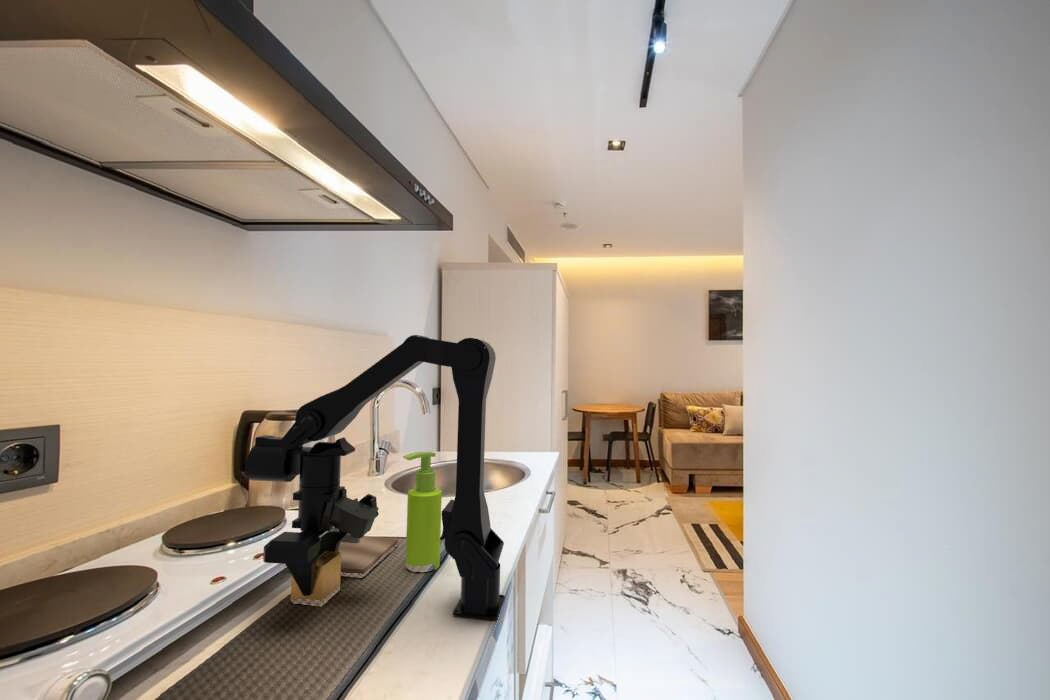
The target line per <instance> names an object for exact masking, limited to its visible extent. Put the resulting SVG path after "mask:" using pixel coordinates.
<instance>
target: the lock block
mask: <svg viewBox="0 0 1050 700" xmlns="http://www.w3.org/2000/svg"><path fill="white" fill-rule="evenodd" d="M290 575H291V579H290V600H291V599H310V600H312V599H315V600H323V599H324V598H325V597H326V596H328V595H329V594H330V593H331V592H332V591H333V590H335V589H336V588H337V587H339V586H340V587H341V578H342V577H341V552H330V551H326V552H325V553H324V554H323V555H322V556H321V557H320V558H319V559H318V560H317V563H316V570H315V576H314V583H313V588H312V593H311V595H310V596H304V595H302V593H301V591H300V589H299V587H298V585H297V583H296V581H295V580H294V578H293V576H292V574H290Z"/></svg>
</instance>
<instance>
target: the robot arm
mask: <svg viewBox="0 0 1050 700" xmlns="http://www.w3.org/2000/svg"><path fill="white" fill-rule="evenodd" d="M423 363H428V364H431V365H437V366H443V367H447V368H448V367H449V368H451V374H452V380H453V384H454V388H455V390H456V391H455V392H456V395H457V399H458V412H457V442H456V446H457V447H456V471H455V472H456V475H455V476H456V477H455V479H456V480H455V496H454V499H450V500H449V502H448V503H447V504H446V505H445V507H444V508H443V509H441V523H442V533H441V534H440V541H444V542H443V544H444V549H445V552H446V553H447V555H448V556H450V557H451V558H452V559H453V560H454V563H455V565H456V570H457V571H458V574H459V577H460V578H461V580H460V583H461V584H460V598H459V600H458V602H457V604H456V606H455V607H454V608H453V611H452V615H453V616H454V617H460V618H462V617H463V618H471V619H472V618H473V619H482V620H489V621H496V620H498V618H499V615H500V613H501V611H502V609H503V606H504V603H505V601H506V596H505V594H501V593H500V587H501V564H500V558H501V555H502V552H503V549H504V544H505V542H504V541H503V539H502V538H501V537H500V536H499V535H498V534H497V533H496V532H495V531H494V530H493V529H492V528H491V527H492V526H491V521H490V513H489V507H488V503H487V499H486V495H485V489H484V484H485V483H484V482H485V481H484V479H485V478H484V476H485V448H486V445H485V444H486V416H487V415H486V408H487V397H488V394H489V390H490V386H491V384H492V379H493V375H494V369H495V365H496V352H495V349H494V348H493V346H491V344H490V343H488V342H487V341H485V340H483V339H479V338H474V337H468V338H467V337H465V338H463V339H461V340H459V341H457V342H453V341H447V340H443V339H442V340H440V339H435V338H430V337H428V336H424V335H419V334H411V335H410V336H408V337H407V338H406V339H405V340H404V341H403V342H402V343H401V344H400V345H398V346H397V347H396V348H394V349H393V350H392V351H390V352H389V353H387V354H385V356H384V357H381V359H379V360H377V362H375V363H374V364H373V365H371V366H370V367H368V368H367V369H365V370H364V371H363V372H361V373H360V374H359V375H357V376H356V377H355V378H353V379H352V380H351V381H349V382H348V383H347V384H345V385H344V386H342V387H340V388H337V389H336V390H333V391H330V392H328V393H325V394H324V395H320V396H319V397H317V398H315V399H313V400H310V401H309V402H307V403H304V404H303V405H301V406H300V407H299V408H298V409H297V411H296V412H295V414H294V415H295V420H294V422H293V423H292V424H291V427H290V428H289V429H288V430H287V431H286V433H285V434H284V436H273V435H267V434H263V435H260V436H256V437H255V441H254V443H255V444H254V445H253V447H251V449H250V450H249V453H248V455H247V457H246V458H247V459H246V460H245V461H244V471H245V475H246V477H247V478H248V479H249V480H250V481H253V482H254V481H258V482H280V483H281V482H283V483H290V482H292V481H294V480H295V478H296V477H297V476H299V485H298V487H299V488H298V490H297V491H295V492H293V493H292V501H298V508H297V509H298V512H297V517H296V518H295V519H293V520H292V521H291V528H292V529H300V532H298V531H295V532H294V531H284V532H282V533H280V534H278V535H277V536H275V537H274V538H272V539H271V540H270V541H268V543H266V544H265V545H264V546H263V563H267V564H282V565H283V564H284V565H285V567H286V566H287V568H288V569H289V571H290V572H289V573H290V575H292V576H293V578H294V580H295V581H296V583H297V585H298V587H299V589H300V591H301V593H302V595H304V596H310V595H311V593H312V588H313V583H314V576H315V570H316V563H317V560H318V559H319V558H320V557H321V556H322V555H323V554H324V553H325V552H326V551H330V552H337V551H338V548H339V545H340V542H341V540H342V539H343V538H344V537H345V536H346V535H347V534H350V535H351V536H352V537H354V538H362V537H363V536H366V534H367V533H369V532H370V531H371V529H372V528H373V524H374V522H375V520H376V518H378V516H379V515H380V514H379V513H380V512H379V507H378V503H377V496H375V495H373V494H370V493H367V494H366V495H364V496H363V497H362V498H361V499H359V498H357V497H356V498H354V499H352V498H349V497H347V496H348V495H347V492H348V491H347V489H346V487H345V486H343V485H341V465H342V463H341V460H342V457H345V456H347V455H350V454H352V453H354V452H355V451H356V447H355V446H354V445H352V444H351V443H349V442H348V440H347V439H346V437H341V438H337V440H335V442H333V441H332V442H331V441H321V440H324V439H327V438H330V437H333V436H336V435H338V434H341V433H343V431H344V430H346V428H347V427H348V426H349V425H350V424H351V423H352V422H353V421H354V420H355V419H356V417H357V416H358V415H359V413H360V412H361V410H362V409H363V408H364V407H365V406H366V405H368V403H369V402H370V401H372V400H374V399H375V398H376V397H378V396H379V395H380V394H381V393H383V392H384V391H386V390H387V389H389V388H390V387H392V386H393V385H394V384H395V383H396V382H398V381H399V380H401V379H402V378H404V377H405V376H406V375H408V374H409V373H410V372H411V371H413V370H414V369H416V368H417V367H419V366H420V365H421V364H423ZM312 442H316V443H315V444H314V445H313V446H304V445H305V444H309V443H312Z"/></svg>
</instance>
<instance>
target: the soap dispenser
mask: <svg viewBox="0 0 1050 700" xmlns="http://www.w3.org/2000/svg"><path fill="white" fill-rule="evenodd" d="M433 457H436V453H435V452H434V451H433V452H432V451H417V452H416V451H415V452H411V453H408V454H406V455H403V458H404V459H405V460H407V461H412V460H415V459H419V458H420V468H419V469H418V470H416V471H415V485H414V488H412V489H411V488H410V489H409V490H408V491H407V508H406V509H407V511H406V538H405V539H406V544H405V564H406V563H407V564H409V565H412V566H425V565H429V564H434V565H435V566H436V567H435V570H434V571H437V570H438V569H439V567H440V562H441V560H440V559H441V557H440V556H441V540H440V537H441V535H442V533H441V529H442V528H441V527H442V524H441V523H442V498H443V497H442V494H443V491H442V490H441V489H440V488H438V487H435V486H436V470H434V469H432V468H431V466H432V465H431V464H432V463H431V462H432V458H433Z"/></svg>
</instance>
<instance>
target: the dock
mask: <svg viewBox="0 0 1050 700" xmlns="http://www.w3.org/2000/svg"><path fill="white" fill-rule="evenodd" d="M397 543H398V544H399V538H391V537H381V536H370V535H368V536H367V535H364V536H363V537H362V538H354V537H352V536H351V535H350V534H347V535H346V536H345V537H344V538H343V539H342V540H341V542H340V545H339V548H338V551H337V552H341V572H343V573H344V572H345V573H359V574H360V573H361V574H364V573H365V572H366V571H367V570H368V569H370V568H371V567H372V566H373V565H374V564H375V563H376V562H377V561H378V560H379V559H380V558H381V557H382V556H383V555H384V554H385V553H387V552H388V551H389V550H390V549H391V548H392V547H394V546H395V545H396V544H397ZM284 570H285V572H289V573H291V572H290V571H289V569H288V568H287V569H286V568H285V569H284Z"/></svg>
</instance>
